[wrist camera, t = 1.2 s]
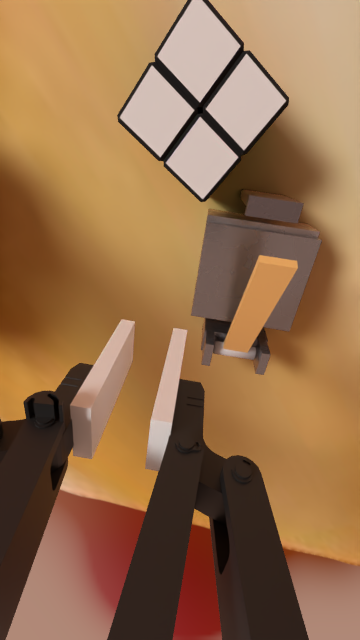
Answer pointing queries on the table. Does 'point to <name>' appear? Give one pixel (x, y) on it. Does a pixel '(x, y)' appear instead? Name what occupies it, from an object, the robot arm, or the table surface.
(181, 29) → the puzzle cube
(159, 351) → the table surface
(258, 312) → the strap
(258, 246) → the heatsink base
